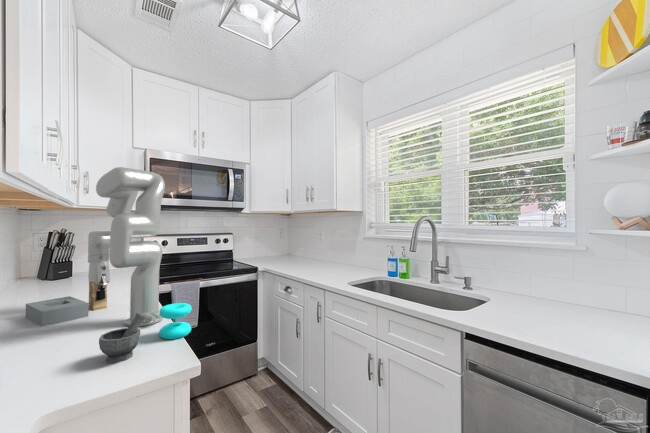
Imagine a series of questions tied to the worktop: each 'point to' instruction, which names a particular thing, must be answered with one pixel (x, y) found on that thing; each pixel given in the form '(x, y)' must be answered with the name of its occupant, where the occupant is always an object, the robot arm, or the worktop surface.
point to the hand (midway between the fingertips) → (97, 298)
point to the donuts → (175, 328)
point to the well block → (56, 310)
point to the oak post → (93, 302)
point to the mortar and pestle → (121, 341)
